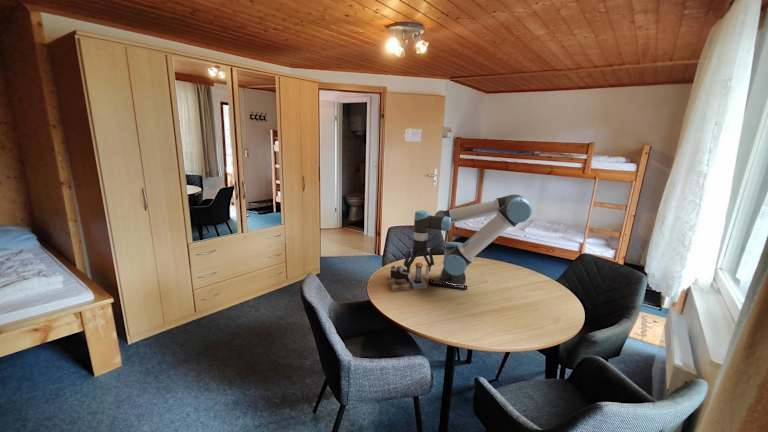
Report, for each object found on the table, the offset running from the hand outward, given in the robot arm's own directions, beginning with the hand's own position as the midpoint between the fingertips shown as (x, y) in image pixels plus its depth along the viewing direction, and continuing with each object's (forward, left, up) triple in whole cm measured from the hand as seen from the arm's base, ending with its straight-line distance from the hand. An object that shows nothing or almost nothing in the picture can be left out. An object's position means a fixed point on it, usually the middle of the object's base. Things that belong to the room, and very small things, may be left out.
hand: (418, 277), depth 183 cm
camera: (+6, -11, -5) cm, 14 cm away
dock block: (+11, 0, -5) cm, 12 cm away
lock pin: (0, 0, -5) cm, 5 cm away
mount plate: (0, 0, -5) cm, 5 cm away
